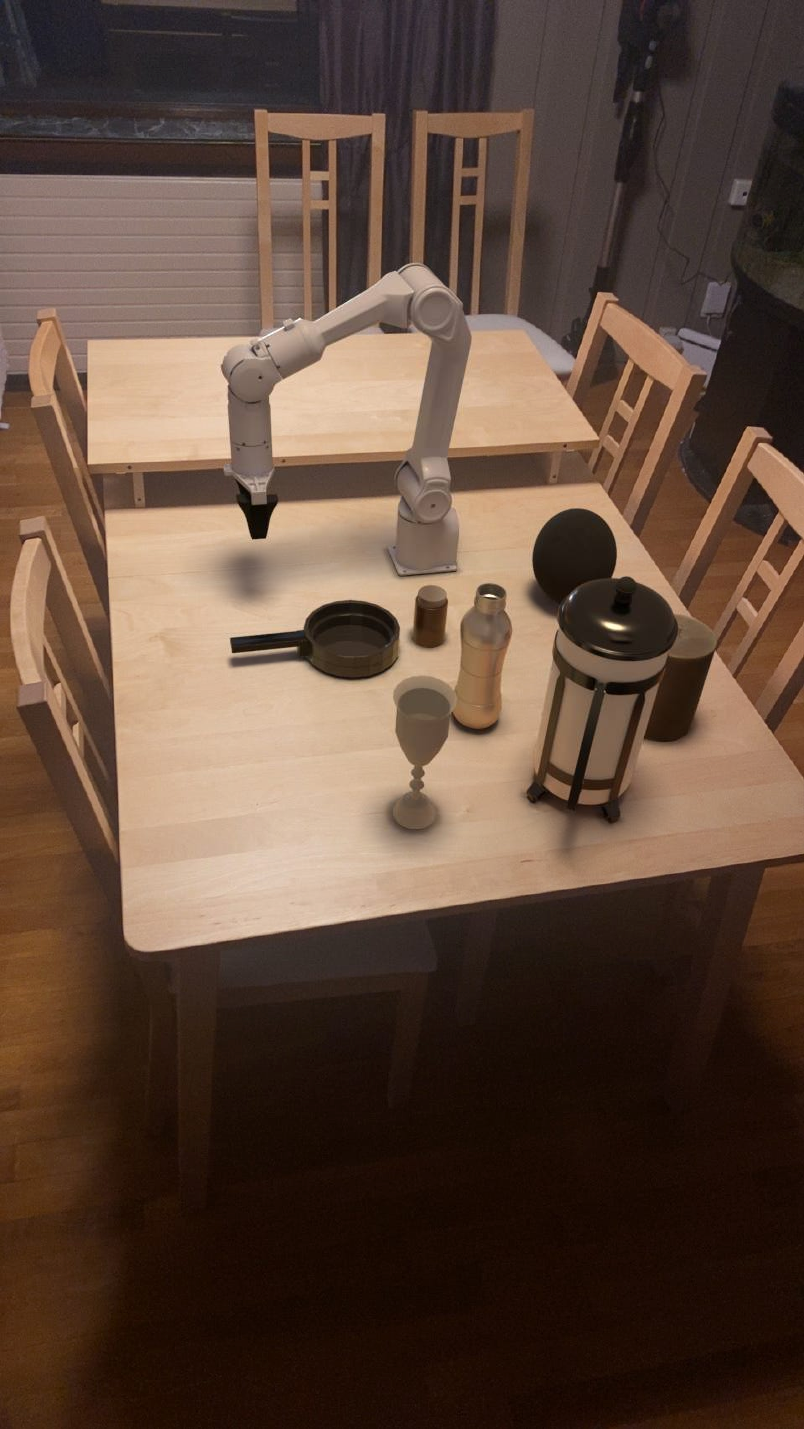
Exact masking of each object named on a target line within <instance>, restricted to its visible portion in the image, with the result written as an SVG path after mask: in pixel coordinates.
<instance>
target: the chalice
mask: <svg viewBox="0 0 804 1429" xmlns="http://www.w3.org/2000/svg"><path fill="white" fill-rule="evenodd" d="M392 699H393V702H394V705H395V707H396V716H395V731H394V732H395V735H396V738H397V741H398V744H399V746H400V749H401V751H402V752H403V754H404V756H405V758H406V760H407V761H408V762H409V763H410V764H411V765H412V766H413V768H412V769H411V771H410V774H411V776H412V779H411V780H409V783H408V784H409V787H410V788H411V791H409V792H406V793H404V794H402V795H401V796H400V799H399V800H398V801H397V803H395V805H394V807H393V809H392V816H393V819H394V821H396V823H397V824H398V825H400V826H401V827H402V828H406V829H409V830H422V829H425V828H427V827H430V826H431V825H432V824H433V822H434V821H435V819H436V811H435V808H434V806H433V804H432V802H431V799H430V798H429V797H428V796H427V795H426V794H425V793H424V792H422V791H421V790H422V789H424V788H425V782H424V781H423V780H422V778H423V777H425V775H426V773H425V770H424V768H423V767H425V766H428V765H429V764H431V762H432V761H433V760H434V759H435V757H436V756H437V755H438V754H439V753H440V752H441V750H442V748H443V746H444V745H445V743H446V741H447V740H448V737H449V732H450V731H449V730H450V721H451V713H453V709H454V707H455V705H456V699H457V697H456V694H455V692H454V688H452V686H451V685H450V684H449V683H447V682H446V681H444V680H443V679H441V678H437V677H435V676H431V675H415V676H414V675H413V676H410V677H407V678H405V679H403V680H402V681H400V682H399V683H398V684H397V685H396V686H395V688H394V689H393V693H392Z"/></svg>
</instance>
